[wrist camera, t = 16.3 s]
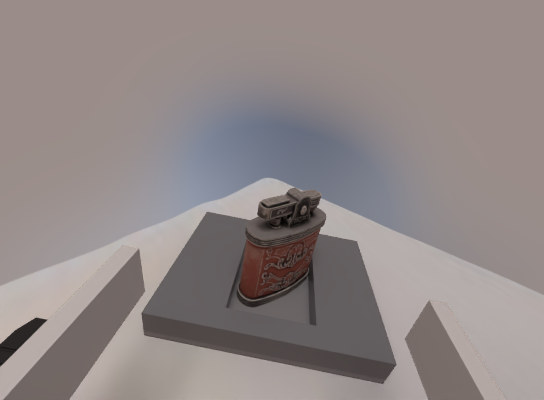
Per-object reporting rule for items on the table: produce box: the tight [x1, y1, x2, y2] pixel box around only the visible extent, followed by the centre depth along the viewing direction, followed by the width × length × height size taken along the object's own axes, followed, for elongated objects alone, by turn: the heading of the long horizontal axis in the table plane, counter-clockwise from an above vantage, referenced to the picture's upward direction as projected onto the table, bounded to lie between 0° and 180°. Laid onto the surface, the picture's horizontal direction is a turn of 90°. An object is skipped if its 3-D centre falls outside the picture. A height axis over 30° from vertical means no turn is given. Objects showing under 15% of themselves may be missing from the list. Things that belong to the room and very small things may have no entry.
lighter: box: [237, 188, 326, 308], centre depth 22 cm, size 8×3×10 cm, turn 128°
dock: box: [142, 212, 396, 383], centre depth 24 cm, size 18×14×2 cm
